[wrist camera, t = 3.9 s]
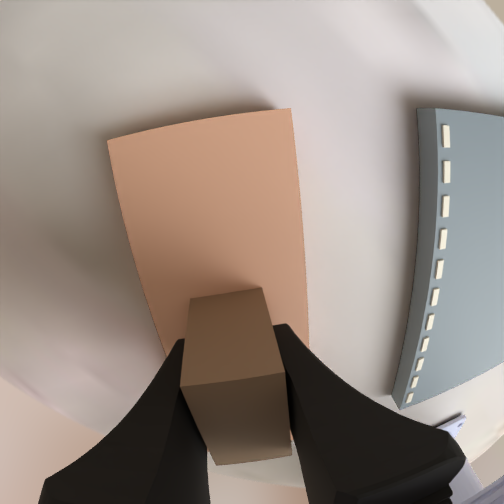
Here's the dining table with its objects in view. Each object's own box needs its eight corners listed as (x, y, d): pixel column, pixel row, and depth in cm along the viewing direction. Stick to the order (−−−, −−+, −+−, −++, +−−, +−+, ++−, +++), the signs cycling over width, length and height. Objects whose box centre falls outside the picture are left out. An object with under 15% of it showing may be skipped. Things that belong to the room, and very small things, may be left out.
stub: (305, 422, 15) (328, 498, 10) (207, 437, 15) (210, 516, 10) (283, 110, 9) (343, 95, 5) (117, 138, 9) (35, 153, 4)
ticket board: (495, 351, 16) (505, 361, 15) (391, 395, 15) (400, 411, 14) (534, 124, 10) (552, 127, 9) (416, 108, 10) (436, 108, 8)
